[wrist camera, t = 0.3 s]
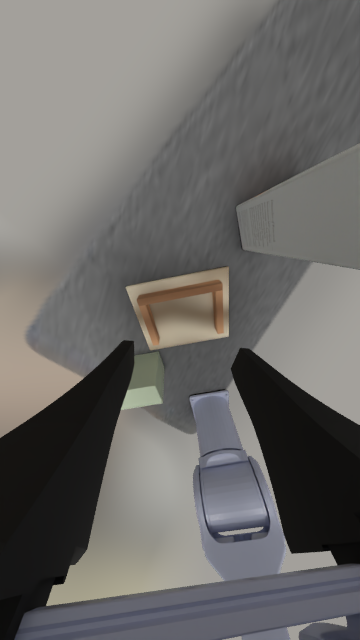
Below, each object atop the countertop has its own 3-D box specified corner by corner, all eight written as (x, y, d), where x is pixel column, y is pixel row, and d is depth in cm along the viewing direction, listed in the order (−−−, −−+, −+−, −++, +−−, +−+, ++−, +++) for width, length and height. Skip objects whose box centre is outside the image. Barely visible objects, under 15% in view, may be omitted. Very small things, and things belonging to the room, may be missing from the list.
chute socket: (227, 334, 21) (232, 342, 20) (150, 348, 22) (148, 357, 20) (227, 266, 16) (233, 269, 14) (126, 286, 17) (121, 291, 15)
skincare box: (299, 173, 13) (897, -123, 2) (297, 226, 15) (602, 200, 4) (232, 206, 13) (438, 104, 3) (240, 251, 16) (379, 280, 5)
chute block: (164, 367, 24) (162, 403, 19) (131, 373, 25) (120, 409, 19) (158, 351, 22) (155, 385, 17) (122, 357, 23) (107, 393, 17)
